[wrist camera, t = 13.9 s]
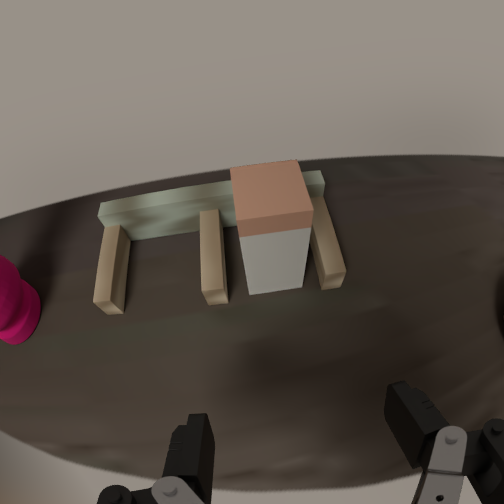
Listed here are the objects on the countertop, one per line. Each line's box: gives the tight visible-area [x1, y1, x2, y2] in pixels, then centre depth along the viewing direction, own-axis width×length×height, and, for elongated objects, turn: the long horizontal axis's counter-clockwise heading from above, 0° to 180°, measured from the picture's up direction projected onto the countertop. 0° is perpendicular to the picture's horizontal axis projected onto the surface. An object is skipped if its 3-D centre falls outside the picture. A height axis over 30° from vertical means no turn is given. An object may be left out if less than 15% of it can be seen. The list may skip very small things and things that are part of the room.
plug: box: [230, 160, 314, 295], centre depth 21 cm, size 4×4×9 cm
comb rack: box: [93, 170, 346, 315], centre depth 24 cm, size 18×8×4 cm, turn 96°
